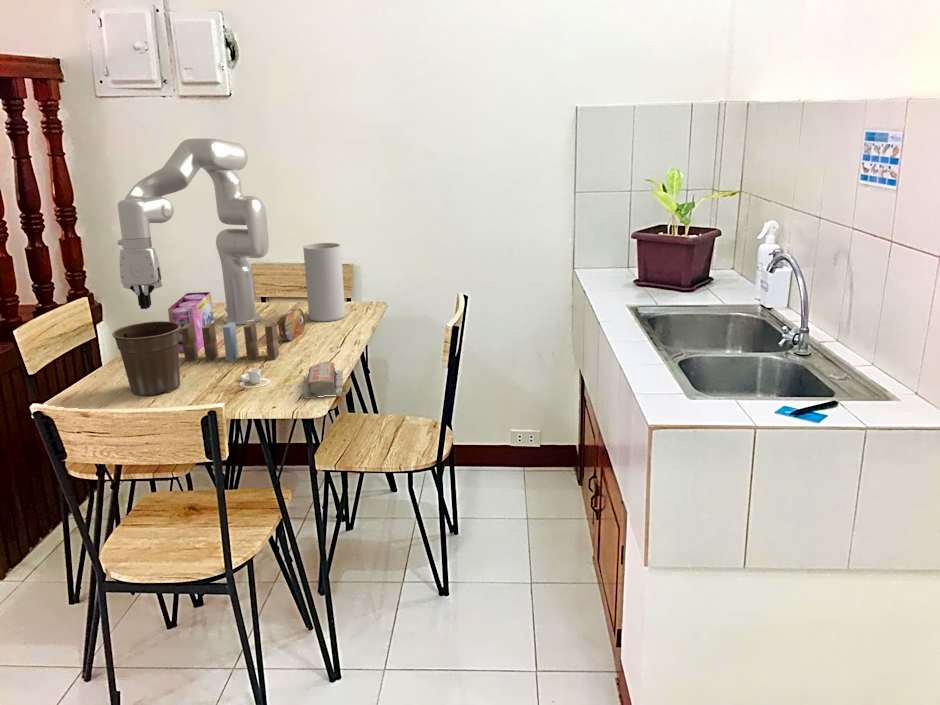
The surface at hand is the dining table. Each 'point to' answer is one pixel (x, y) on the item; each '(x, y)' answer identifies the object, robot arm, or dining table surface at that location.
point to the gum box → (192, 314)
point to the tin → (291, 324)
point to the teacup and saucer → (253, 378)
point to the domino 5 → (272, 340)
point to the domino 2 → (210, 341)
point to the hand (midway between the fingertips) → (145, 308)
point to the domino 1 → (189, 342)
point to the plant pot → (150, 356)
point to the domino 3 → (230, 341)
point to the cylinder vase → (324, 281)
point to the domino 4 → (251, 340)
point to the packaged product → (323, 381)
